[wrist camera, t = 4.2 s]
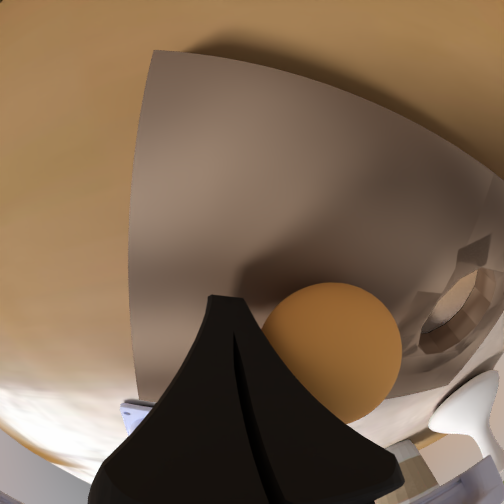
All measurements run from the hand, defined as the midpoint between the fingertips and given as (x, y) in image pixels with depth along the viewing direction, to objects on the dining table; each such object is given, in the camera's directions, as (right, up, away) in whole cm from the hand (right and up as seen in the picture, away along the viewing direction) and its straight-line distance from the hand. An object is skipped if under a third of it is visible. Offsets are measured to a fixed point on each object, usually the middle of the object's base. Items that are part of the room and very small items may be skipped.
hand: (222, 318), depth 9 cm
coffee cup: (+23, -29, +23) cm, 43 cm away
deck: (+8, 0, +4) cm, 9 cm away
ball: (+4, -1, -1) cm, 4 cm away
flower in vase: (+28, -15, +16) cm, 36 cm away
